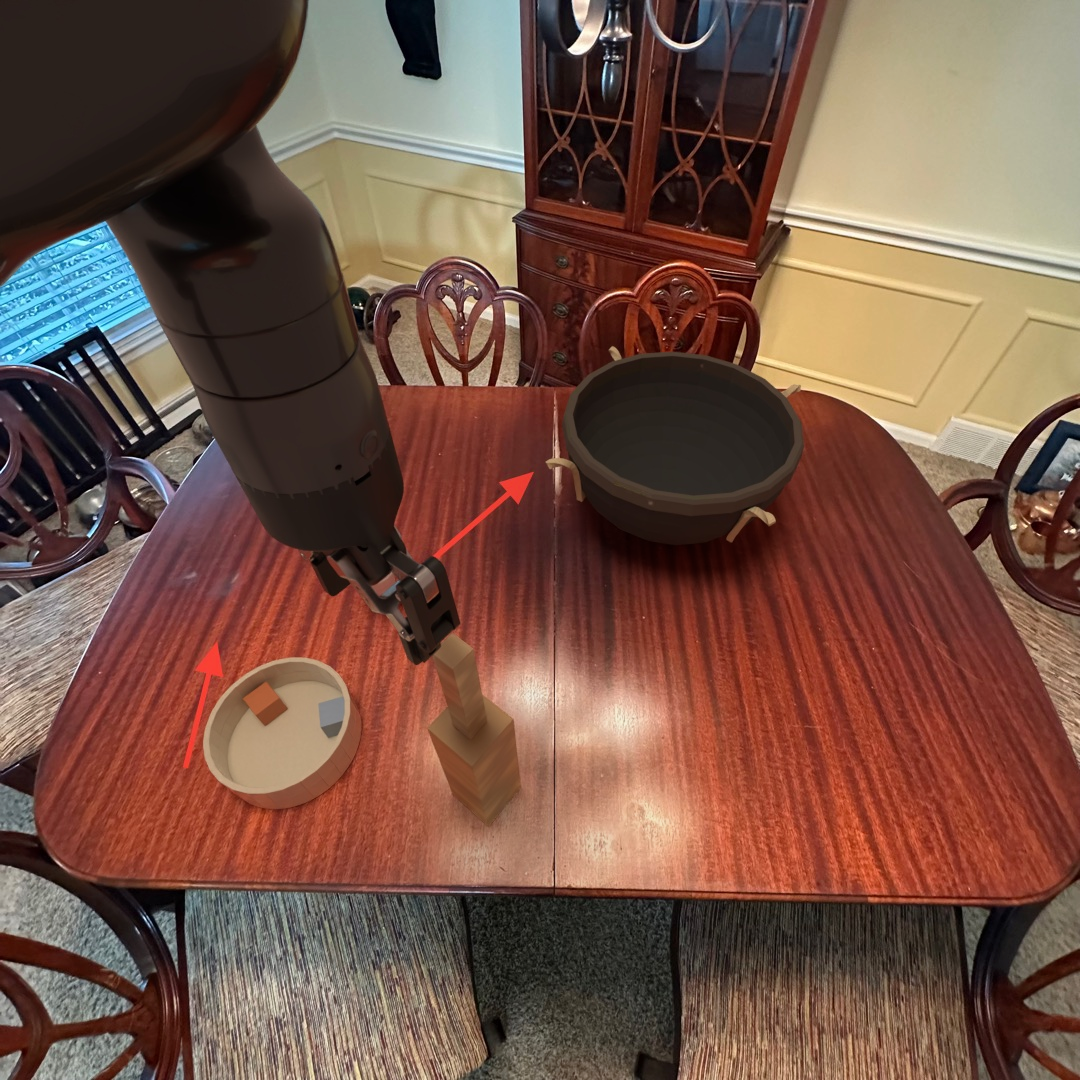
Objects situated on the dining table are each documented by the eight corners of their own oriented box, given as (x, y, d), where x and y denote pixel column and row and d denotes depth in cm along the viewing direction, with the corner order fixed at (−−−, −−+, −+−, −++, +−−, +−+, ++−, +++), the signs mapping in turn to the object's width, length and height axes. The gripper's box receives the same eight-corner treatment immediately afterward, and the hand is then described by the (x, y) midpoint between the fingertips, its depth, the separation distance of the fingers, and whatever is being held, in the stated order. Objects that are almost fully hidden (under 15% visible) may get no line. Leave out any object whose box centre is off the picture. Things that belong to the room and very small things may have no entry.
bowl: (780, 468, 110) (817, 375, 95) (750, 621, 89) (792, 533, 74) (596, 424, 119) (603, 333, 104) (529, 555, 98) (525, 464, 82)
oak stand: (488, 827, 71) (471, 766, 56) (452, 794, 74) (426, 727, 58) (521, 786, 74) (513, 718, 59) (485, 756, 77) (469, 683, 61)
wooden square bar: (470, 739, 58) (452, 669, 47) (452, 724, 59) (431, 652, 48) (487, 721, 59) (473, 648, 48) (469, 706, 60) (452, 632, 49)
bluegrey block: (328, 738, 78) (320, 727, 75) (325, 714, 80) (318, 703, 77) (354, 730, 78) (347, 719, 76) (351, 706, 81) (344, 695, 78)
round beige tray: (277, 841, 70) (258, 826, 66) (197, 749, 78) (175, 730, 73) (389, 729, 79) (379, 709, 74) (307, 656, 86) (294, 634, 82)
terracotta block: (265, 726, 79) (255, 715, 76) (252, 709, 80) (242, 698, 78) (288, 708, 80) (279, 697, 78) (275, 692, 82) (266, 680, 79)
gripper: (157, 414, 30) (273, 600, 42) (341, 553, 24) (412, 722, 36) (284, 347, 33) (356, 536, 46) (471, 454, 28) (495, 638, 40)
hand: (381, 618), depth 41 cm, fingers open, 8 cm apart
